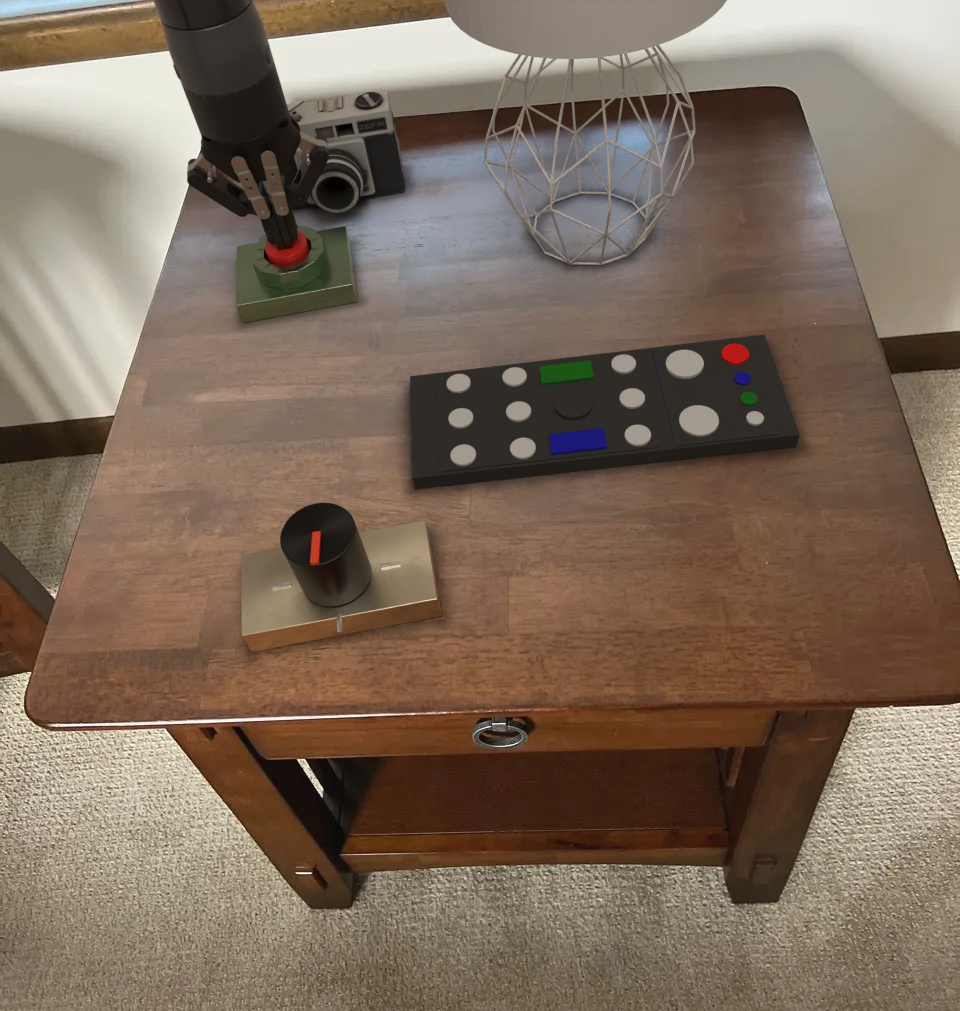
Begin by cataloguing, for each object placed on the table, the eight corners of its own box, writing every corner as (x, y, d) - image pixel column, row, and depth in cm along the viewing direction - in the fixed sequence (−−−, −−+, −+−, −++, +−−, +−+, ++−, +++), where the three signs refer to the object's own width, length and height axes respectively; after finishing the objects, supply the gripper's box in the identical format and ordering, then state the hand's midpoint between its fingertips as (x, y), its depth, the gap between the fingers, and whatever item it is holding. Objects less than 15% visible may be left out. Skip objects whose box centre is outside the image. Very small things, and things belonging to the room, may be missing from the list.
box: (243, 323, 87) (229, 291, 84) (243, 263, 93) (230, 230, 90) (357, 302, 88) (347, 269, 84) (350, 243, 93) (341, 210, 90)
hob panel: (252, 667, 66) (240, 650, 64) (251, 558, 71) (240, 540, 69) (444, 630, 66) (439, 612, 64) (428, 525, 71) (423, 505, 69)
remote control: (796, 446, 72) (800, 430, 71) (415, 489, 74) (411, 474, 72) (761, 346, 79) (765, 329, 77) (412, 387, 80) (408, 371, 79)
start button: (270, 275, 87) (264, 260, 85) (269, 249, 89) (264, 234, 88) (312, 267, 87) (307, 253, 85) (310, 241, 89) (305, 226, 88)
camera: (269, 231, 95) (240, 142, 87) (283, 181, 101) (257, 93, 93) (401, 222, 94) (384, 131, 86) (408, 172, 99) (392, 82, 92)
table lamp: (457, 302, 86) (376, -218, 54) (493, 159, 99) (444, -330, 66) (702, 310, 82) (772, -245, 50) (706, 161, 95) (764, -359, 63)
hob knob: (303, 548, 68) (281, 503, 64) (372, 542, 68) (355, 496, 63) (298, 610, 65) (275, 566, 60) (370, 603, 65) (353, 559, 60)
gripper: (306, 26, 75) (351, 206, 89) (145, 56, 75) (216, 231, 89) (310, 74, 70) (357, 255, 84) (140, 105, 70) (215, 282, 84)
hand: (285, 243), depth 86 cm, fingers closed
